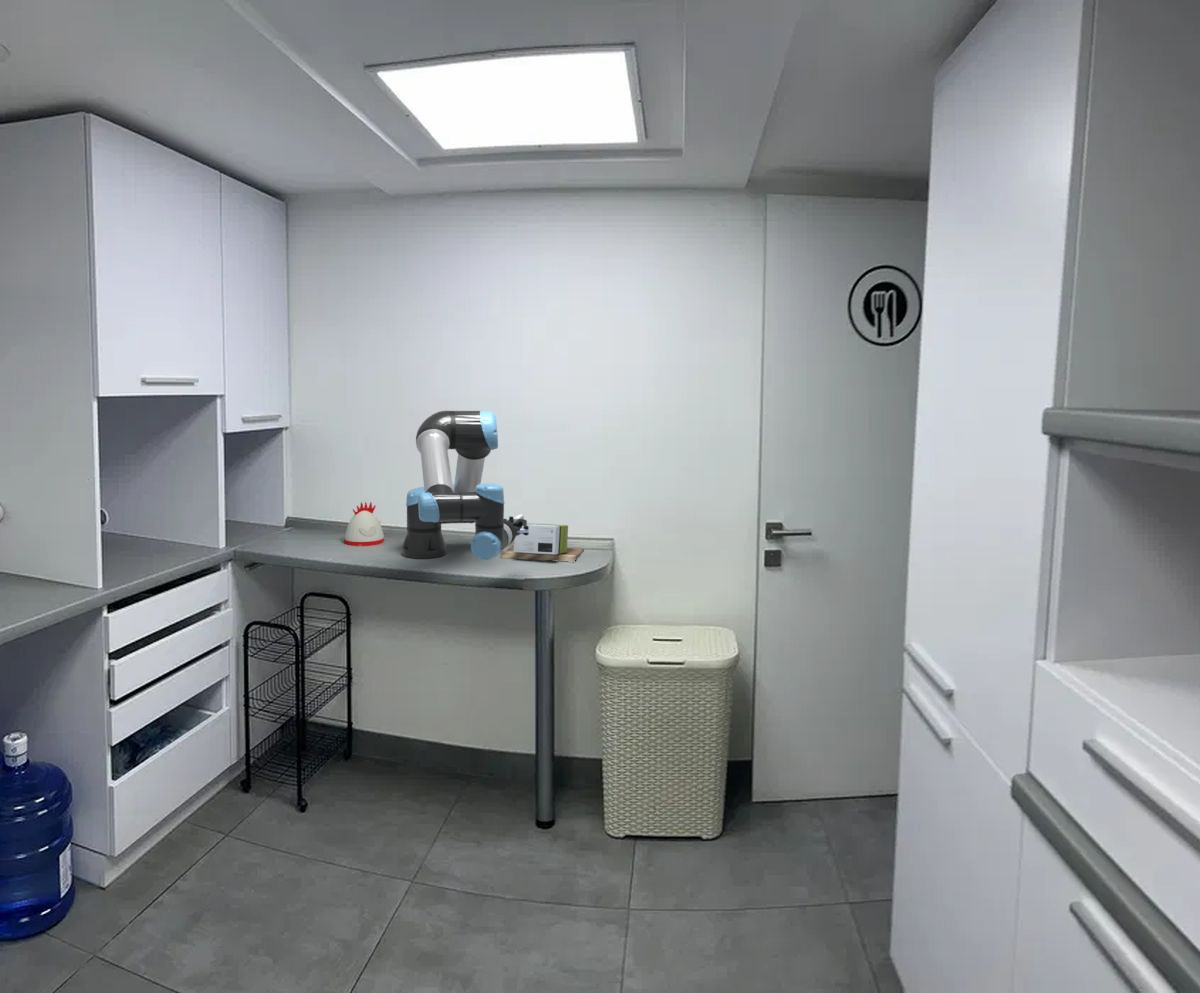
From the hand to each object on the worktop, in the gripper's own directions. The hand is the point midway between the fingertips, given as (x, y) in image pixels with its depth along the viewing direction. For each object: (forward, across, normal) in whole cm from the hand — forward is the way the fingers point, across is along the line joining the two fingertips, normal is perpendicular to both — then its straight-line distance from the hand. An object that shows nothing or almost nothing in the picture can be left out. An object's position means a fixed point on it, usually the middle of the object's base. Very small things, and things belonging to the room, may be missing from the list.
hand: (521, 518), depth 234 cm
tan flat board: (+32, 0, -19) cm, 37 cm away
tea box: (+19, 0, -11) cm, 21 cm away
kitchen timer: (+33, -68, -20) cm, 78 cm away
